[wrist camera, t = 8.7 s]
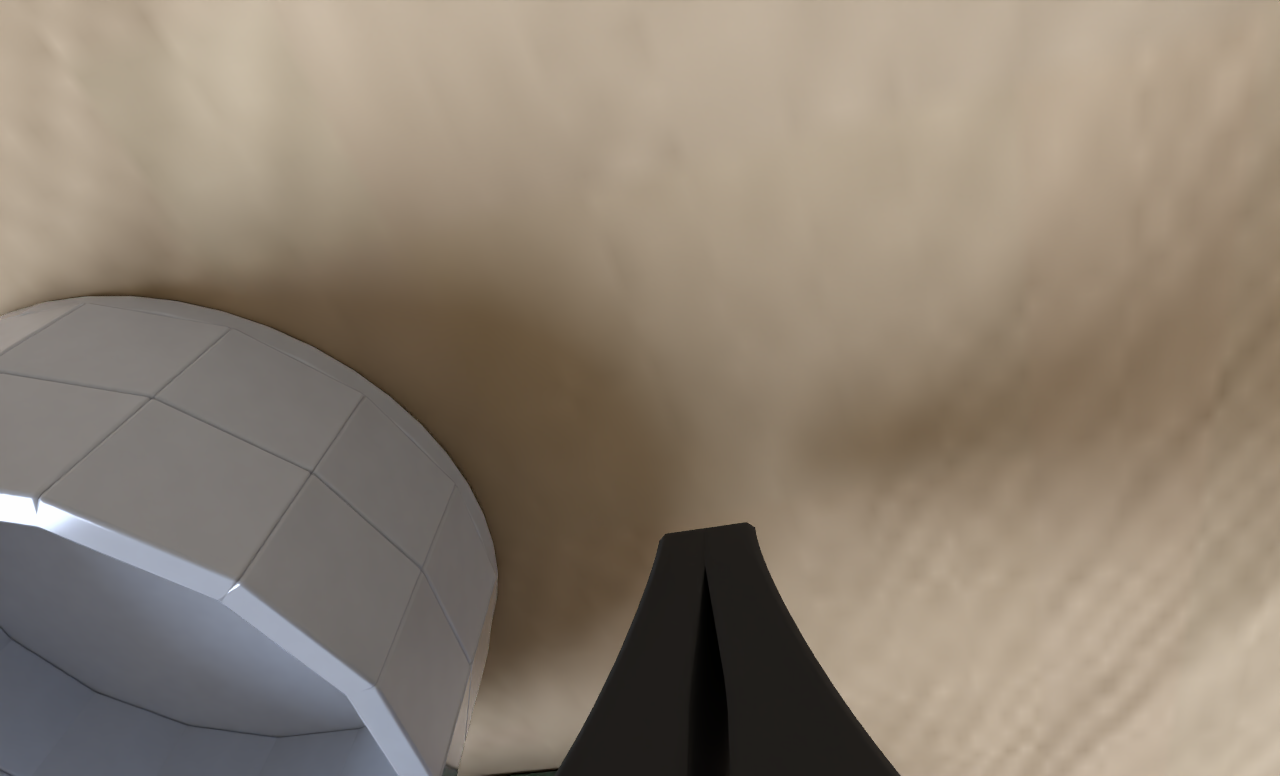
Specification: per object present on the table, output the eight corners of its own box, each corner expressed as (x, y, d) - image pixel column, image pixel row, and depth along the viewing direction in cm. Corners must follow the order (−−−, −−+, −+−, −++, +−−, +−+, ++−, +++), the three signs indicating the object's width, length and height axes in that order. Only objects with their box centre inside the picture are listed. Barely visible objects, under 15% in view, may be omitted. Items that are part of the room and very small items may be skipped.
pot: (563, 699, 16) (529, 936, 13) (128, 748, 18) (-23, 974, 14) (365, 232, 11) (196, 391, 7) (-234, 360, 13) (-648, 550, 9)
